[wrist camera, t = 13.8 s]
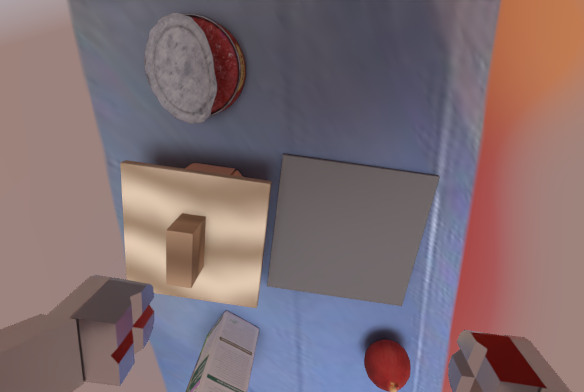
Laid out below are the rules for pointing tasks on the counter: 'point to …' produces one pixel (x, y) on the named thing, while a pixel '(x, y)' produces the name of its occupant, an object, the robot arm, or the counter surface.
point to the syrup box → (226, 357)
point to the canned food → (193, 66)
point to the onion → (387, 365)
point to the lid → (194, 232)
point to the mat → (348, 228)
